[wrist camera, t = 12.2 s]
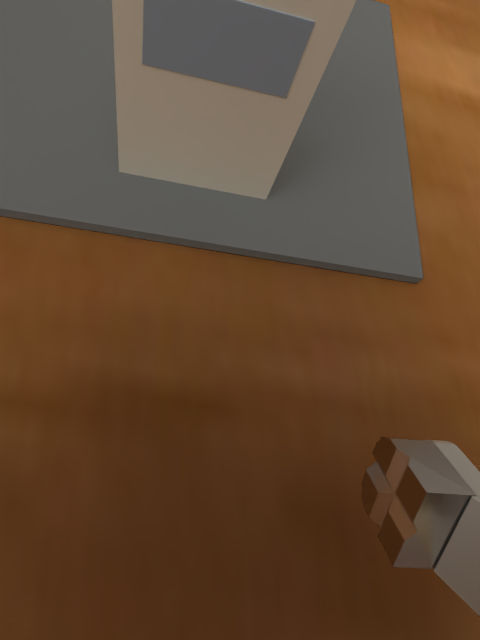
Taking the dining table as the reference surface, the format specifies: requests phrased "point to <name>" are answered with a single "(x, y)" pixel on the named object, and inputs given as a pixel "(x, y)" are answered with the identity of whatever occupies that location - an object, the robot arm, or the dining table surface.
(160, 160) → the card deck
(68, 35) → the mat
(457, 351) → the dining table surface
